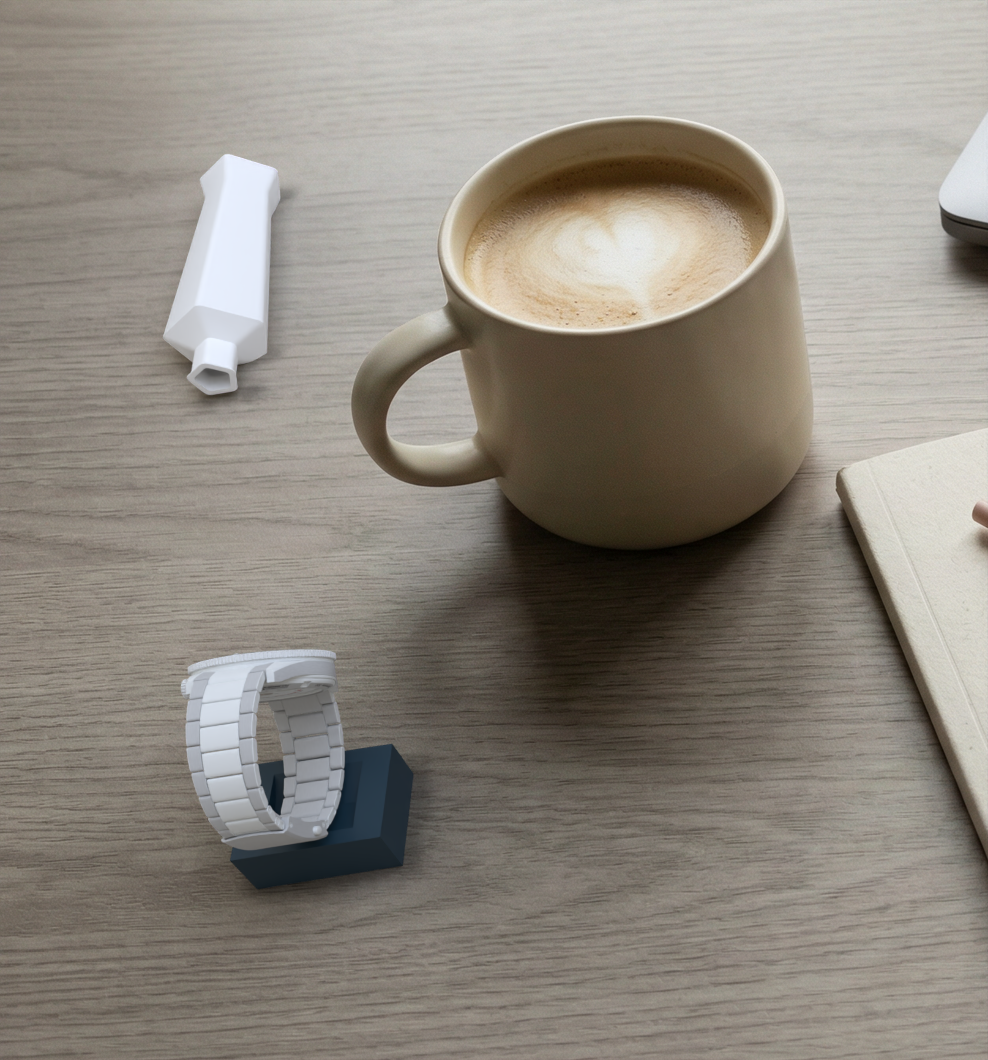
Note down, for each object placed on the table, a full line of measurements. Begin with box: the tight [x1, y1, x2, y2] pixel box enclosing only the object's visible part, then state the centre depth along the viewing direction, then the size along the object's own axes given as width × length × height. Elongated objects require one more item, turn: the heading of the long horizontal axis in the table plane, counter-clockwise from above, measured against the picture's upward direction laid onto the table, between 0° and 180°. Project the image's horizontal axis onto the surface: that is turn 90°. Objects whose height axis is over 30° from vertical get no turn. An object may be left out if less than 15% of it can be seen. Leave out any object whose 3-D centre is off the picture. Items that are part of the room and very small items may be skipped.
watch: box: [180, 648, 415, 890], centre depth 65 cm, size 6×8×11 cm
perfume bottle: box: [162, 153, 282, 396], centre depth 87 cm, size 5×4×15 cm
